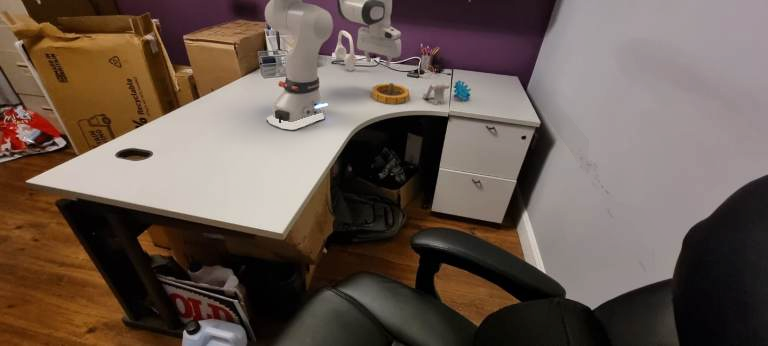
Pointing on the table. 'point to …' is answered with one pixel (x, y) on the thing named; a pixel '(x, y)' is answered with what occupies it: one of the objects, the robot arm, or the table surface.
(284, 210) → the table surface
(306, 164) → the table surface
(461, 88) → the gear
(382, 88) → the mustard ring
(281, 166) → the table surface
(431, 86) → the tablet stand
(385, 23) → the robot arm
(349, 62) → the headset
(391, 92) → the ring stand
